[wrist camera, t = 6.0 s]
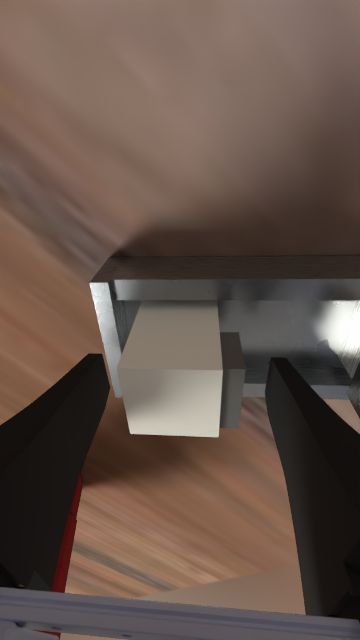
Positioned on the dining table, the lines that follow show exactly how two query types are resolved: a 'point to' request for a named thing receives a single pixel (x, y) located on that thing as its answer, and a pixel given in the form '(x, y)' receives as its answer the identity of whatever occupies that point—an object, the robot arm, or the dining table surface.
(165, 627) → the robot arm
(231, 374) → the cream rectangular block
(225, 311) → the rail
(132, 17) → the dining table surface
